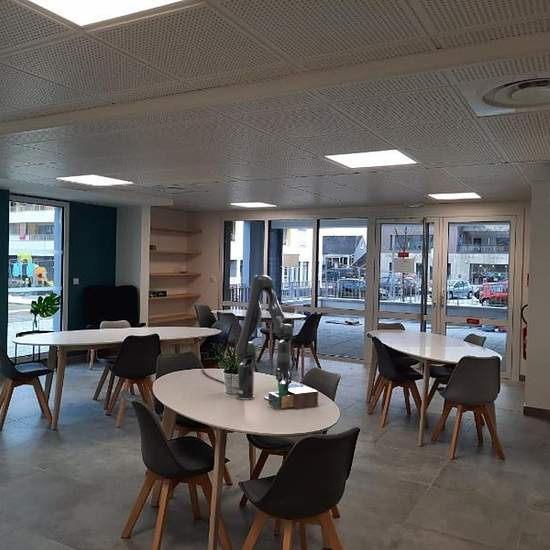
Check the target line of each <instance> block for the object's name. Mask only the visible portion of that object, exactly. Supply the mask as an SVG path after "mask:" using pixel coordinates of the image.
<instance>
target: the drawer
mask: <svg viewBox="0 0 550 550" xmlns="http://www.w3.org/2000/svg"><path fill="white" fill-rule="evenodd" d="M263 400H265V401H266V402H268V405H269V406H270V407H273V408H274V409H276V410H281V409H284V408H291V407H294V394H291V393H289V392H288V396H281V405H280V396H278V391H275V392H271V391H269V392H268V397H266V396H264V397H263Z"/></svg>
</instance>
